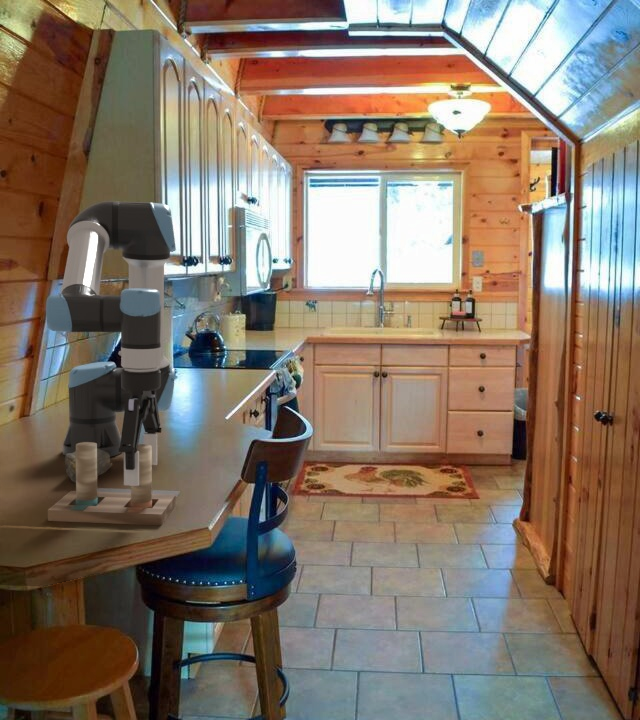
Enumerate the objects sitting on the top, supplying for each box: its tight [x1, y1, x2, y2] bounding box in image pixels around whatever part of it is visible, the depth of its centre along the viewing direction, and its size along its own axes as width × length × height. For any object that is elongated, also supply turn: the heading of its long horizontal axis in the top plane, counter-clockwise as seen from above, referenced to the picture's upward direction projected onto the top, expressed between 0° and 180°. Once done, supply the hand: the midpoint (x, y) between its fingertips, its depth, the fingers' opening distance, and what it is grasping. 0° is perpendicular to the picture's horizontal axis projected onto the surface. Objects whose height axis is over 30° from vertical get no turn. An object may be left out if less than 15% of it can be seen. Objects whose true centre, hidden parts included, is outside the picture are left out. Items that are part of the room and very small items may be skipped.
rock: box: [64, 449, 113, 484], centre depth 173 cm, size 17×7×10 cm
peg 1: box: [75, 442, 98, 506], centre depth 148 cm, size 4×4×14 cm
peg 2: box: [130, 443, 153, 508], centre depth 147 cm, size 4×4×14 cm
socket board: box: [47, 490, 177, 526], centre depth 148 cm, size 12×22×3 cm, turn 88°
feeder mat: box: [97, 487, 182, 498], centre depth 159 cm, size 8×20×1 cm, turn 88°
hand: (141, 474), depth 147 cm, fingers open, 13 cm apart
